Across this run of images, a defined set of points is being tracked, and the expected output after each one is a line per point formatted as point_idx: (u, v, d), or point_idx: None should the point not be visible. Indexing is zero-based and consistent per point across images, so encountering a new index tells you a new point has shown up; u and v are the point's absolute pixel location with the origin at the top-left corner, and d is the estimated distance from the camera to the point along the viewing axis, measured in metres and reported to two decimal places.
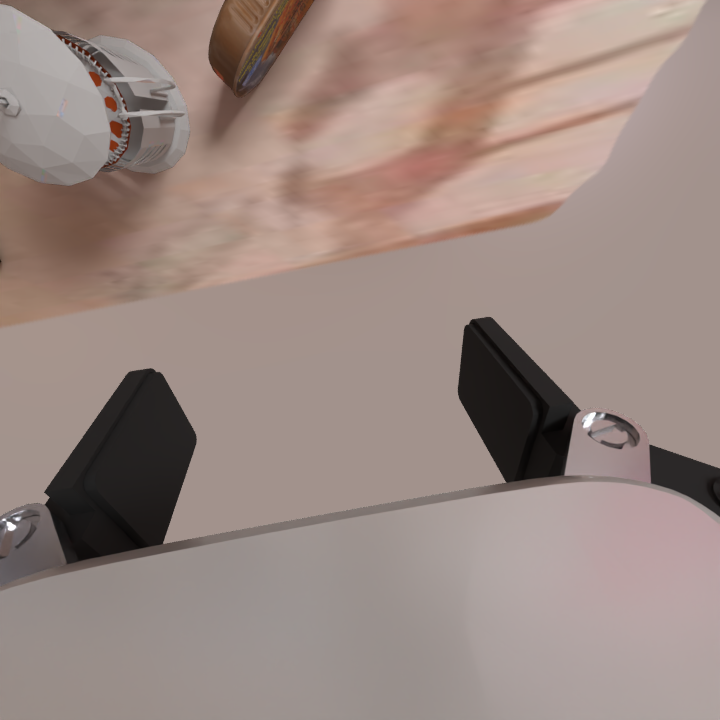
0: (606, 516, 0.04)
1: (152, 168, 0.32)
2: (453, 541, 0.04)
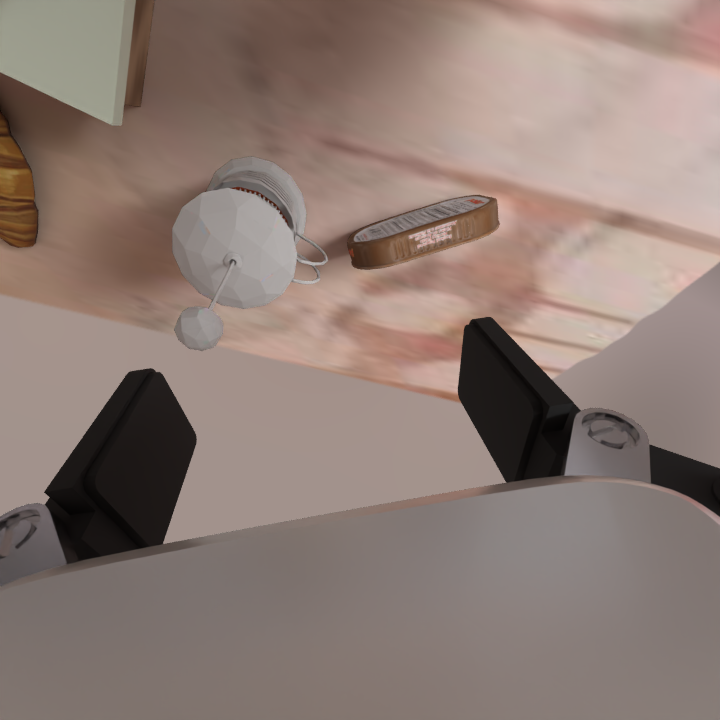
0: (606, 516, 0.04)
1: None
2: (454, 540, 0.04)
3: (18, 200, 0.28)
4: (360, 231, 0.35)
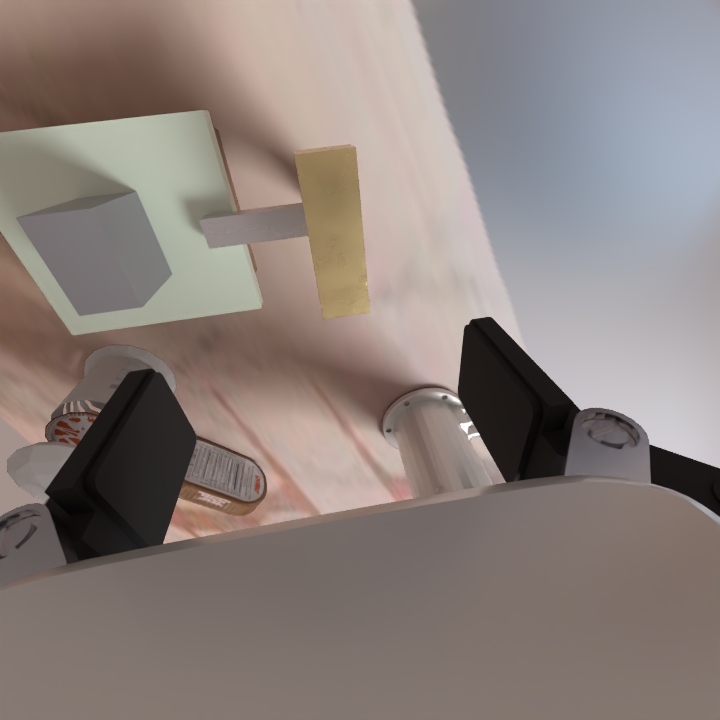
0: (606, 516, 0.04)
1: None
2: (454, 540, 0.04)
3: None
4: None
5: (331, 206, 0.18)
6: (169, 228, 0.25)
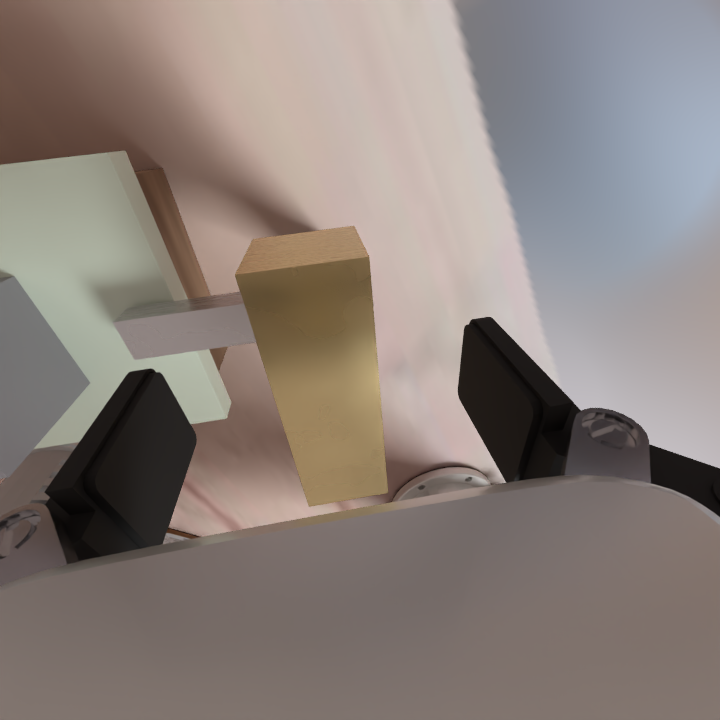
0: (606, 516, 0.04)
1: None
2: (454, 540, 0.04)
3: None
4: None
5: (318, 358, 0.09)
6: (76, 325, 0.16)
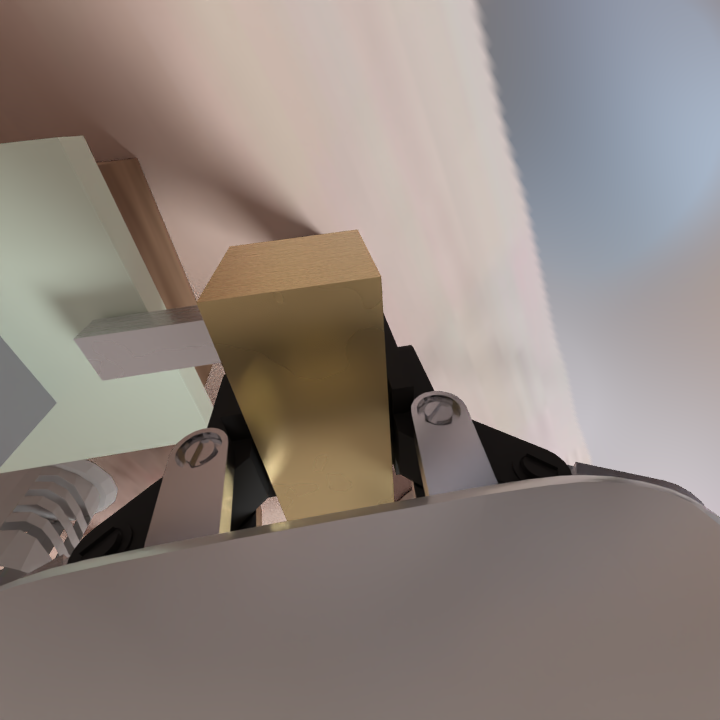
0: (606, 516, 0.04)
1: None
2: (453, 541, 0.04)
3: None
4: None
5: (313, 402, 0.07)
6: (35, 339, 0.14)
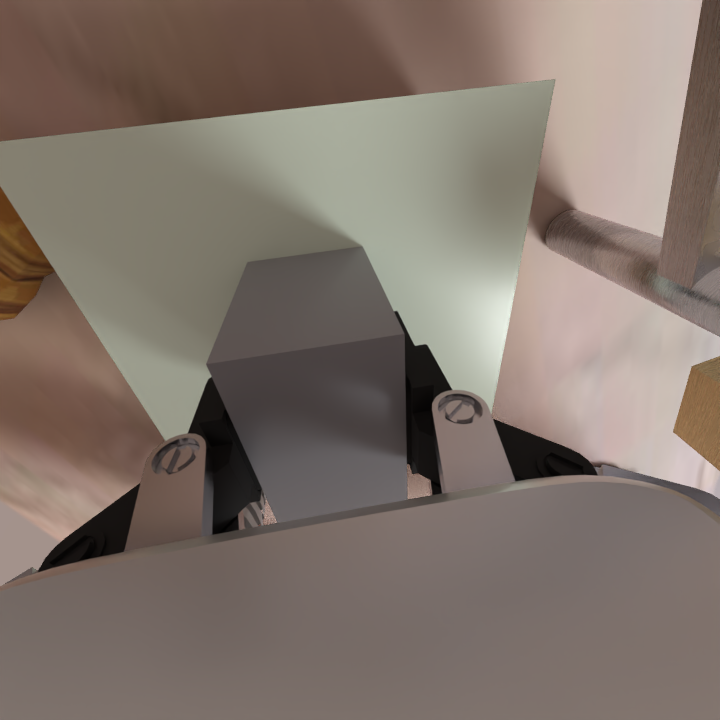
0: (606, 516, 0.04)
1: None
2: (454, 540, 0.04)
3: None
4: None
5: None
6: (396, 309, 0.13)
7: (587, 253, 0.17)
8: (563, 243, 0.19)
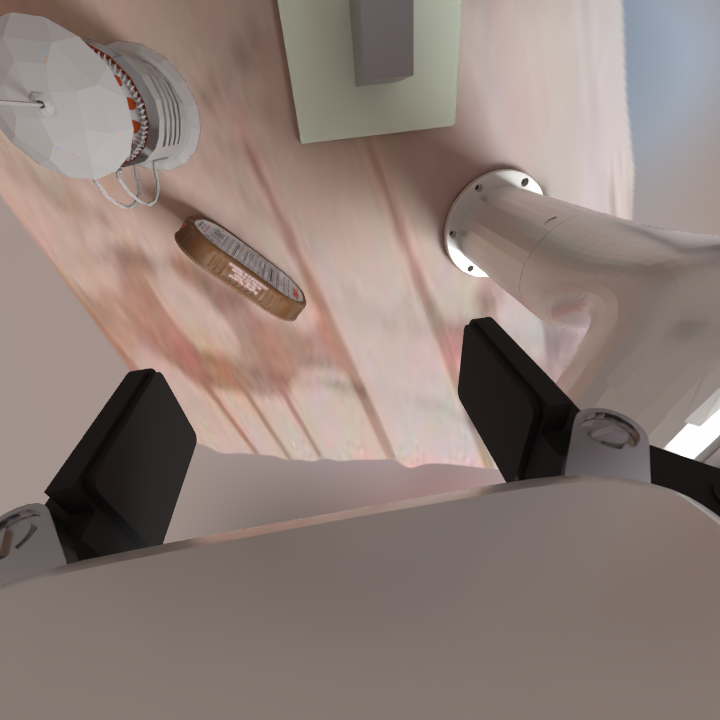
0: (606, 516, 0.04)
1: None
2: (454, 541, 0.04)
3: None
4: (210, 222, 0.36)
5: None
6: None
7: None
8: None
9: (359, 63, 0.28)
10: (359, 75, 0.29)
